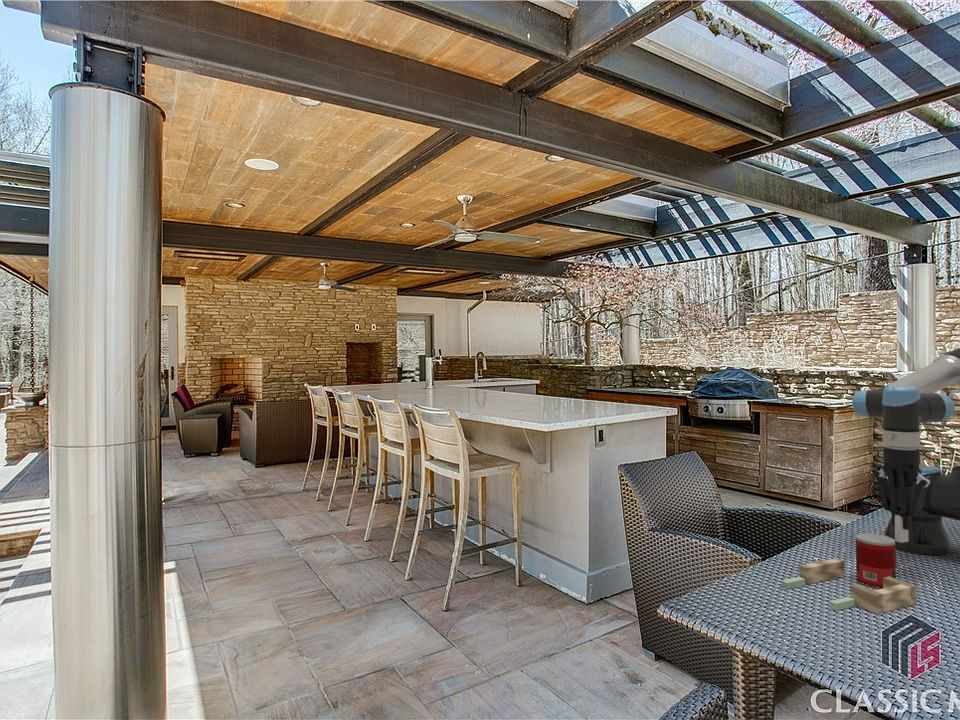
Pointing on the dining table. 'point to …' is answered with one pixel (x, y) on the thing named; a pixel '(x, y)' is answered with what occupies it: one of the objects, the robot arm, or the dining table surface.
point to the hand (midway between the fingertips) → (901, 541)
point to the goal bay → (833, 604)
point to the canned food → (875, 558)
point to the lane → (874, 601)
